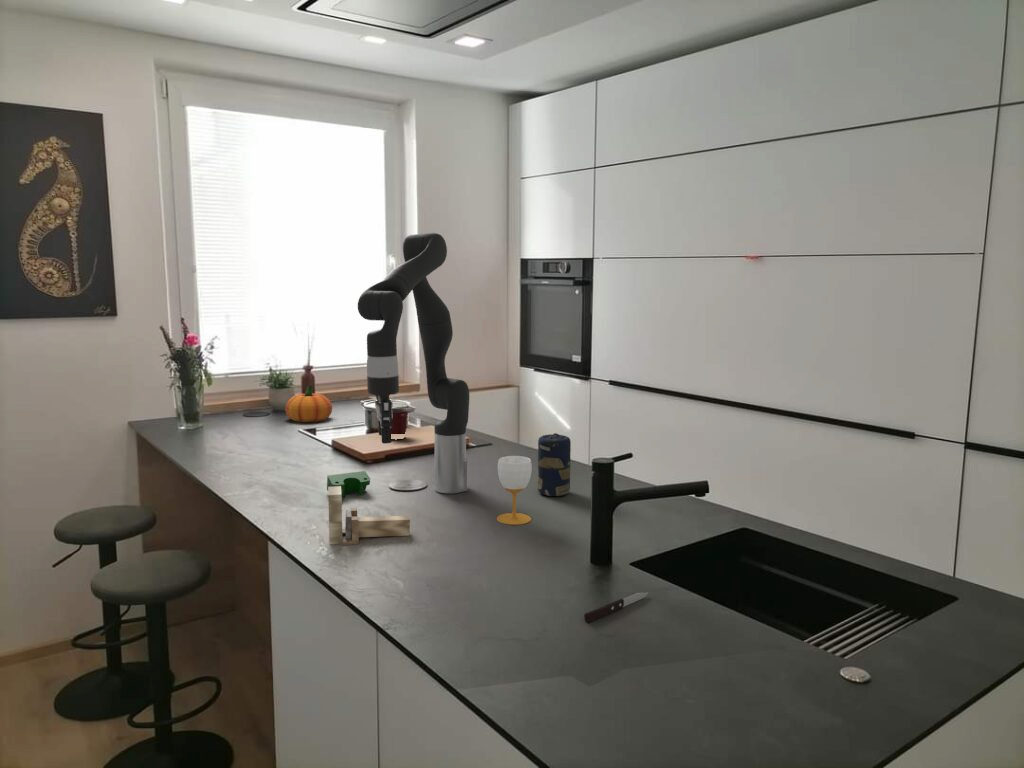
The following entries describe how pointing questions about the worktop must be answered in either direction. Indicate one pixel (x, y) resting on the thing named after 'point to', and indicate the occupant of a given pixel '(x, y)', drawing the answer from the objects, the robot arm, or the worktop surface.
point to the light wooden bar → (379, 526)
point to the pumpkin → (308, 407)
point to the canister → (554, 464)
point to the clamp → (349, 482)
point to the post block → (340, 519)
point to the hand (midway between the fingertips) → (384, 438)
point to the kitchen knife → (612, 607)
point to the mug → (398, 421)
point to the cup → (514, 484)
